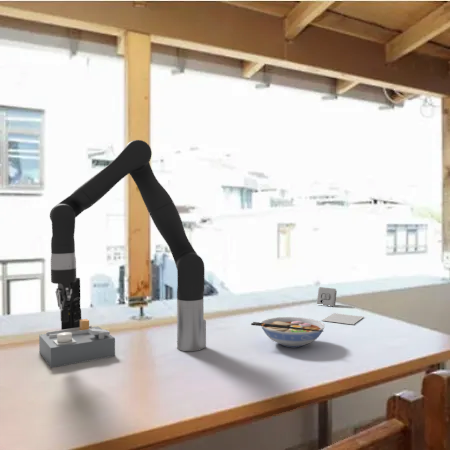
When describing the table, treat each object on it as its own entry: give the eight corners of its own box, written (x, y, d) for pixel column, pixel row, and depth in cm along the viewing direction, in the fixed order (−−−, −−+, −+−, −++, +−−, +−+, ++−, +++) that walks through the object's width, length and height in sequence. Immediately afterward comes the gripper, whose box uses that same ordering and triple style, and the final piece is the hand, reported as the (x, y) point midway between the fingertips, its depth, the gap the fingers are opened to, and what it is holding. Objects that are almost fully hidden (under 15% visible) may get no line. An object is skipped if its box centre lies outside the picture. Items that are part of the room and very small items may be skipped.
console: (98, 342, 158) (98, 320, 158) (115, 355, 143) (114, 331, 143) (39, 352, 147) (39, 328, 147) (50, 367, 132) (50, 341, 132)
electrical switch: (316, 305, 225) (317, 287, 226) (320, 304, 229) (321, 286, 230) (333, 307, 219) (334, 288, 220) (337, 306, 224) (338, 288, 224)
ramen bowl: (333, 340, 160) (333, 318, 160) (319, 358, 140) (319, 333, 140) (269, 333, 171) (269, 312, 171) (247, 349, 150) (247, 325, 150)
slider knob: (86, 328, 153) (86, 318, 153) (89, 330, 151) (89, 320, 151) (79, 329, 152) (79, 319, 152) (82, 331, 150) (82, 321, 149)
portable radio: (72, 342, 159) (71, 274, 159) (57, 341, 160) (56, 273, 160) (83, 336, 167) (82, 271, 166) (69, 335, 168) (68, 271, 168)
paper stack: (385, 320, 192) (385, 319, 192) (371, 333, 171) (371, 331, 171) (334, 314, 204) (334, 313, 204) (314, 326, 183) (314, 324, 183)
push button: (70, 337, 141) (69, 331, 141) (73, 340, 137) (73, 334, 137) (55, 339, 139) (55, 333, 139) (59, 343, 135) (58, 336, 135)
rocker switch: (105, 333, 147) (106, 329, 147) (109, 335, 144) (109, 332, 144) (88, 332, 144) (88, 328, 144) (91, 334, 141) (92, 330, 141)
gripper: (81, 268, 134) (82, 324, 134) (70, 264, 145) (71, 316, 145) (55, 270, 130) (57, 327, 130) (46, 266, 141) (47, 319, 141)
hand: (64, 321), depth 138 cm, fingers closed
